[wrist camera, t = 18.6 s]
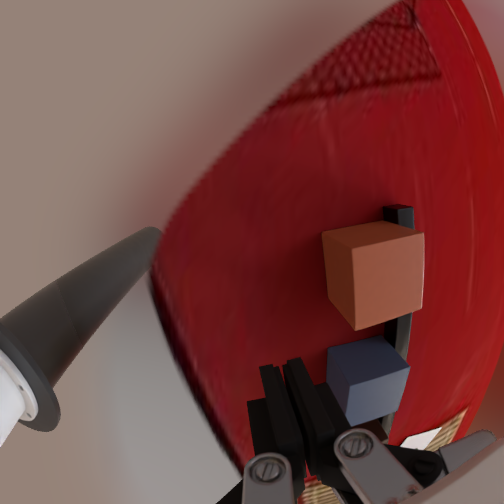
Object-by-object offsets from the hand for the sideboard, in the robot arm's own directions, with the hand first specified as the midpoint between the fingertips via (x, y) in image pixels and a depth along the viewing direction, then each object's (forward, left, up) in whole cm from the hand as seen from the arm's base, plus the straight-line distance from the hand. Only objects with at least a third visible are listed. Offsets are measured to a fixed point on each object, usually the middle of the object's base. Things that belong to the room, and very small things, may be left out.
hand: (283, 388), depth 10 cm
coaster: (+19, -32, -9) cm, 38 cm away
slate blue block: (+7, -8, -9) cm, 14 cm away
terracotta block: (+7, +1, -9) cm, 12 cm away
